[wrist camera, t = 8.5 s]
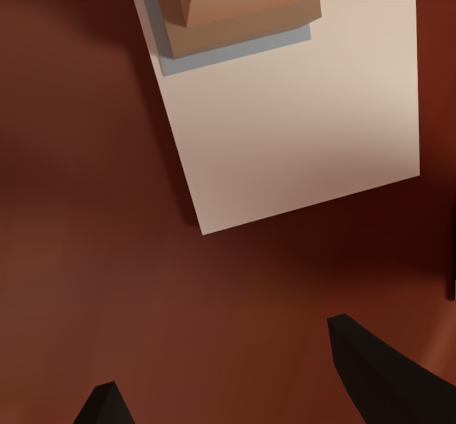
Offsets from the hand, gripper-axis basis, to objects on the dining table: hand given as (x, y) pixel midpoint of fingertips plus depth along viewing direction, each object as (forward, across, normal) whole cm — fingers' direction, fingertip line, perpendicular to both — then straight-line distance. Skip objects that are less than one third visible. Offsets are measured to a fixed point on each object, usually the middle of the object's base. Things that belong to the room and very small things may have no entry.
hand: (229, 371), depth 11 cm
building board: (+10, -6, -8) cm, 15 cm away
